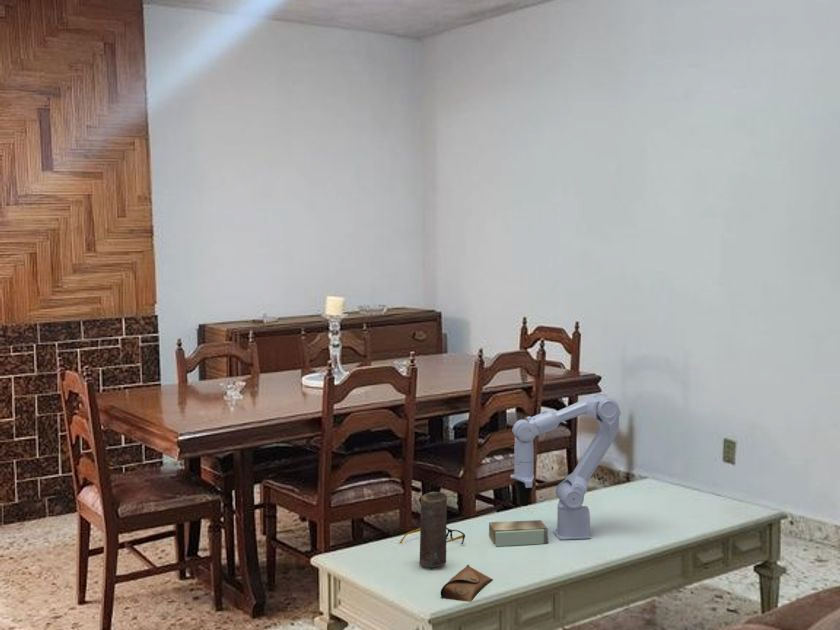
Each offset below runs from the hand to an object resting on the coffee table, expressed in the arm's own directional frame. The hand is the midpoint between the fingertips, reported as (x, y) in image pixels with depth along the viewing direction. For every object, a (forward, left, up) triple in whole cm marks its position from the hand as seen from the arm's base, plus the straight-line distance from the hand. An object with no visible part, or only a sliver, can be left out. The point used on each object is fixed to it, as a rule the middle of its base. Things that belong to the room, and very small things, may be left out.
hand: (523, 505), depth 294 cm
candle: (+30, +21, -10) cm, 38 cm away
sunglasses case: (+23, +39, -11) cm, 46 cm away
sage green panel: (+2, +7, -10) cm, 12 cm away
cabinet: (+2, +1, -10) cm, 10 cm away
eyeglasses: (+28, +3, -11) cm, 30 cm away
